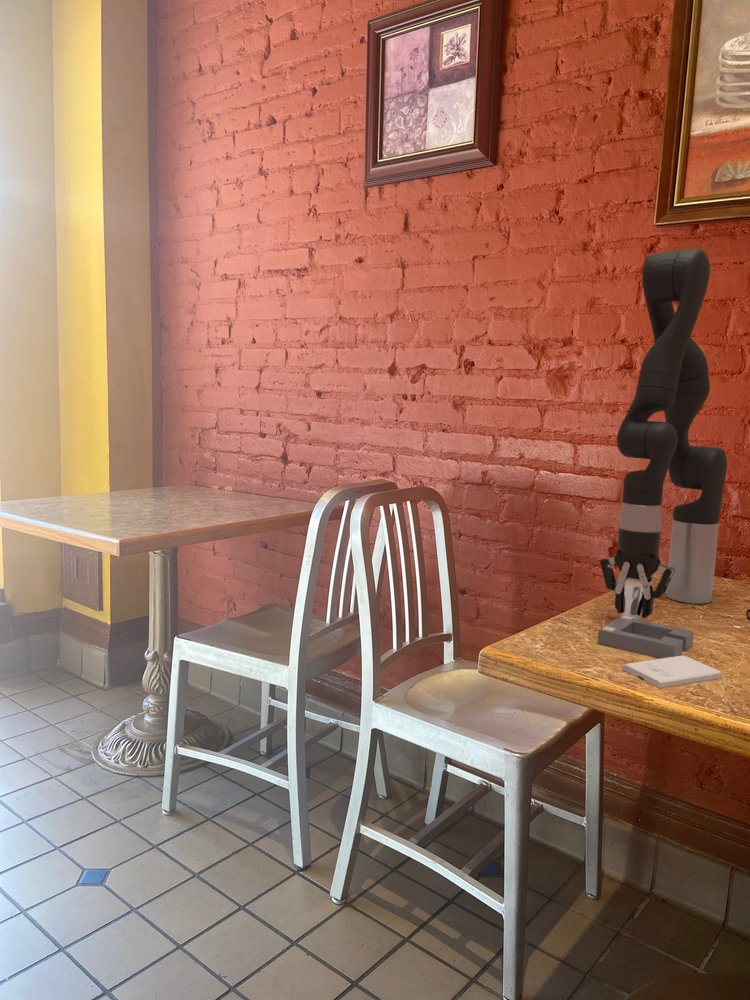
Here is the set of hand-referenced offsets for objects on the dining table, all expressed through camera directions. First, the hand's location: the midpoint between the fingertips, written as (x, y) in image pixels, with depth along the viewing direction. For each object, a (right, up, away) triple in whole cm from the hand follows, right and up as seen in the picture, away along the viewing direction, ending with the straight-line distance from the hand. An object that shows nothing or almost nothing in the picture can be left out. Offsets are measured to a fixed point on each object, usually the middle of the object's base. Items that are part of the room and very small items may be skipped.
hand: (632, 614), depth 144 cm
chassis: (-2, -3, -12) cm, 13 cm away
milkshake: (0, -2, 0) cm, 2 cm away
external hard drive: (-3, -6, -26) cm, 27 cm away
